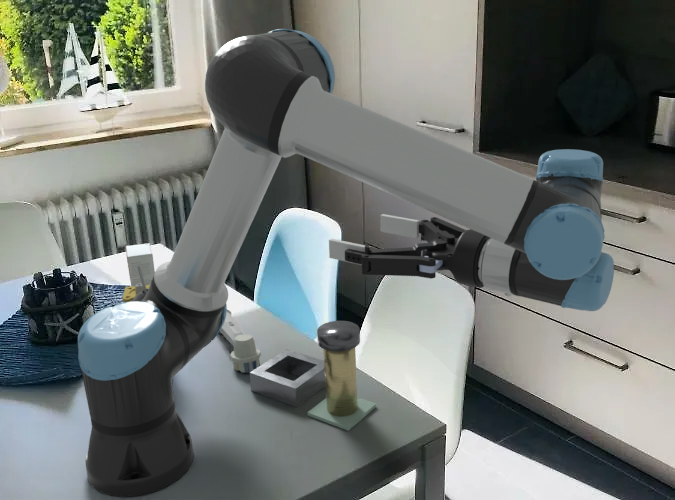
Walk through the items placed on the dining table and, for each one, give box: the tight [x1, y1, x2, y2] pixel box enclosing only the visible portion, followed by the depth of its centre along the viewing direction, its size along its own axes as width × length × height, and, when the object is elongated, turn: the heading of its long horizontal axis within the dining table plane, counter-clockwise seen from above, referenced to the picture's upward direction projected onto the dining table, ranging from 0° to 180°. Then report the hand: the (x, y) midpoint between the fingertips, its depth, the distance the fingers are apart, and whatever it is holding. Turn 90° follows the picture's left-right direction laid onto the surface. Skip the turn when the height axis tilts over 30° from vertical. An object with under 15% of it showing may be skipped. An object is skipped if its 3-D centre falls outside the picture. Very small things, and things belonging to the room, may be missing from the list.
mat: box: [306, 396, 377, 431], centre depth 117 cm, size 8×8×1 cm
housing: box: [249, 348, 326, 408], centre depth 124 cm, size 10×10×4 cm
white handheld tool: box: [219, 309, 261, 373], centre depth 139 cm, size 5×7×25 cm
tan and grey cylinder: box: [316, 320, 361, 417], centre depth 114 cm, size 7×7×14 cm
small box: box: [125, 242, 156, 287], centre depth 166 cm, size 8×6×10 cm
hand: (357, 234), depth 108 cm, fingers open, 13 cm apart
